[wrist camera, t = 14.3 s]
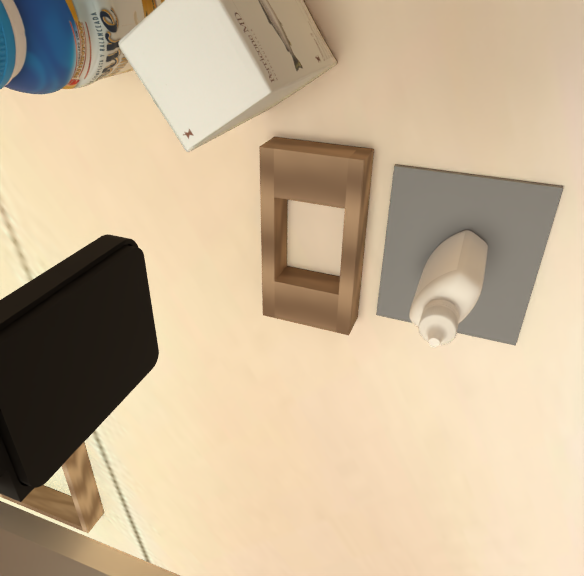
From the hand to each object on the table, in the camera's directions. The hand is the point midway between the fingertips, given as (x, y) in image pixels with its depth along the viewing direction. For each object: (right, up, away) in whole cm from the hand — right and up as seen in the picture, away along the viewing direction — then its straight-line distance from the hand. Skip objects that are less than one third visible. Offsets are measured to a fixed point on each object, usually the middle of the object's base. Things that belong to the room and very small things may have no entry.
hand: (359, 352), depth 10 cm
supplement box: (-2, +20, +30) cm, 36 cm away
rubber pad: (+12, +4, +33) cm, 35 cm away
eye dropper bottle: (+12, +4, +33) cm, 35 cm away
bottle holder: (+1, +6, +36) cm, 37 cm away
